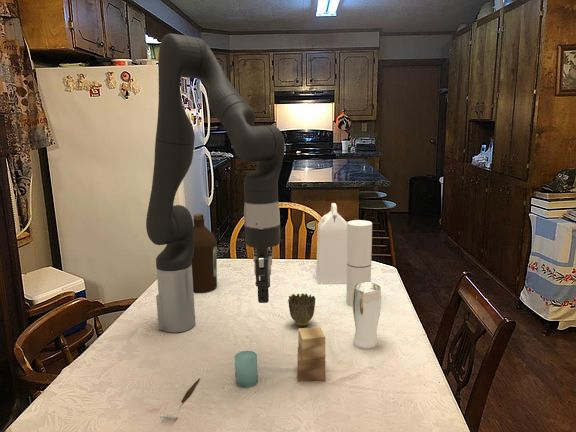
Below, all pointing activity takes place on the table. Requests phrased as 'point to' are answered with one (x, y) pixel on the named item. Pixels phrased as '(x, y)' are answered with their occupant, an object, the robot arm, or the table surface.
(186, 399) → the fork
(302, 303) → the cup
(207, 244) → the olive oil
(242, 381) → the cylinder
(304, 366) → the base block
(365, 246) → the cylindrical container
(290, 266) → the table surface
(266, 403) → the table surface
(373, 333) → the beer glass
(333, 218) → the milk
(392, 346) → the table surface
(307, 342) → the top block
